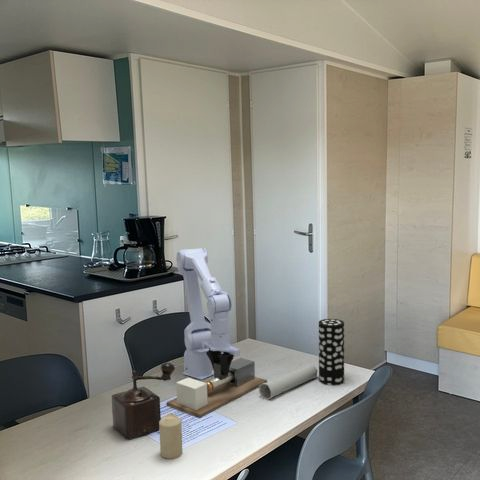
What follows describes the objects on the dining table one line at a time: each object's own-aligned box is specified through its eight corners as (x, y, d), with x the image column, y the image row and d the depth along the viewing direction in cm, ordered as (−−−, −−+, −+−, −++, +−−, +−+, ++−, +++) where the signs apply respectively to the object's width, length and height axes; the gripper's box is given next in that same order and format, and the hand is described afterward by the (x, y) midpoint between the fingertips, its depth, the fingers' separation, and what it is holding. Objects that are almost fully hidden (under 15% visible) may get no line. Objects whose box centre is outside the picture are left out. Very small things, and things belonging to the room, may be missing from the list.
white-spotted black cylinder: (345, 377, 186) (345, 319, 183) (342, 386, 178) (342, 326, 176) (321, 374, 189) (321, 318, 186) (316, 383, 181) (316, 324, 178)
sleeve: (223, 383, 181) (222, 365, 180) (241, 374, 188) (240, 357, 187) (237, 387, 177) (236, 369, 176) (254, 378, 184) (254, 361, 183)
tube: (306, 363, 190) (257, 383, 172) (318, 361, 186) (269, 382, 169) (310, 378, 189) (261, 400, 172) (322, 377, 186) (273, 399, 168)
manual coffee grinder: (128, 441, 146) (125, 376, 143) (112, 426, 155) (108, 365, 152) (179, 424, 155) (177, 363, 152) (161, 411, 164) (158, 352, 161)
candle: (161, 448, 142) (159, 411, 141) (182, 447, 142) (181, 410, 141) (160, 459, 136) (158, 421, 135) (182, 458, 137) (180, 420, 136)
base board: (166, 405, 167) (166, 402, 167) (235, 373, 192) (234, 370, 192) (199, 417, 159) (199, 414, 158) (267, 382, 183) (267, 380, 183)
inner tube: (202, 391, 171) (201, 367, 170) (241, 372, 186) (241, 351, 185) (210, 393, 169) (209, 370, 168) (249, 374, 184) (248, 353, 183)
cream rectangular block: (177, 403, 167) (176, 382, 166) (188, 397, 170) (188, 377, 169) (195, 410, 161) (195, 388, 161) (207, 404, 165) (206, 383, 164)
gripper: (194, 331, 175) (196, 371, 177) (228, 339, 166) (230, 382, 168) (209, 325, 180) (211, 365, 182) (243, 333, 171) (244, 375, 173)
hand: (221, 373), depth 175 cm, fingers closed on inner tube, 3 cm apart
